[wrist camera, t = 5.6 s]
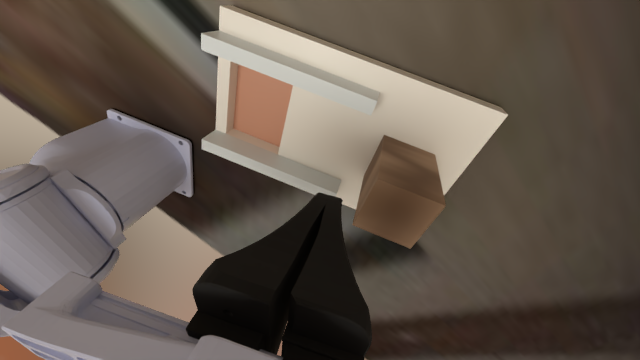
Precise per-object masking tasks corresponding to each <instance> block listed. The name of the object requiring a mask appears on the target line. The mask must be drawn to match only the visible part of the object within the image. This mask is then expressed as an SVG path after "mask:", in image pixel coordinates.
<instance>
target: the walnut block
mask: <svg viewBox="0 0 640 360" xmlns="http://www.w3.org/2000/svg"><path fill="white" fill-rule="evenodd" d="M445 206H446V204H445V200H444V195H443V190H442V185H441V180H440V175H439V171H438V166H437V161H436V156H435V154H433V153H430V152H427V151H425V150H422V149H420V148H417V147H415V146H412V145H409V144H407V143H404V142H402V141H399V140H397V139H394V138H391V137H389V136H386V135H384V136H383V138H382V140H381V142H380V144H379V146H378V148H377V150H376V152H375V154H374V156H373V158H372V160H371V162H370V164H369V166H368V168H367V170H366V172H365V174H364V177H363V181H362V186H361V190H360V195H359V199H358V203H357V208H356V212H355V217H354V221H353V225H354V226H356V227H359V228H361V229H364V230H366V231H369V232H371V233H373V234H376V235H378V236H381V237H383V238H386V239H388V240H391V241H393V242H396V243H398V244H400V245H403V246H405V247H408V248H410V249H411V247H412V246H413V245H414V244H415V243H416V241H417V240H418V239H419V238H420V237H421V235H422V234H423V233H424V232H425V230H426V229H427V228H428V227H429V226H430V224H431V223H432V222H433V221H434V220H435V218H436V217H437V216H438V215H439V214H440V212H441V211H442V210H443V209H444V208H445Z"/></svg>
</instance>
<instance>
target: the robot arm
mask: <svg viewBox="0 0 640 360" xmlns="http://www.w3.org/2000/svg"><path fill="white" fill-rule="evenodd" d="M107 115H108V118H107V119H105V120H102V121H100V122H97V123H95V124H92V125H89V126H87V127H84V128H82V129H79V130H77V131H74V132H72V133H69V134H67V135H64V136H62V137H59V138H56V139H54V140H52V141H50V142H48V143H46V144H45V145H44V146H42V147H41V148H40V149H39V150H38V151H37V152H36V153H35V154H34V156H33V157H32V159H31V160H30V163H29V164H21V165H17V166H13V167H9V168H6V169H3V170H0V284H1V285H3V286H4V287H5V288H7V289H8V290H9V291H3V290H0V337H5V336H11V337H13V338H14V339H15V340H17V341H18V342H19V343H21V344H22V345H23V346H25V347H26V348H27V349H29V350H30V351H31V352H33V353H34V354H35V355H37V356H39V357H41V358H43V359H46V360H364V356H365V354H366V352H367V351H368V349H369V347H370V345H371V341H372V329H371V321H370V315H369V309H368V306H367V304H366V302H365V300H364V298H363V296H362V294H361V292H360V290H359V287H358V285H357V283H356V280H355V277H354V274H353V272H352V269H351V266H350V263H349V259H348V256H347V252H346V248H345V243H344V238H343V231H342V222H341V206H342V201H343V200H342V199H341V198H339V197H335V196H331V195H327V194H324V193H320V192H319V193H317V194H316V195H315V196H314V197H313V198H312V200H311V201H310V202H309V203H308V204H307V205H306V206H305V207H304V208H303V209H302V210H300V211H299V212H298V213H297V214H296V215H295V216H294V217H292V218H291V219H290V220H289V221H288V222H286V223H285V224H284V225H282V226H281V227H280V228H278V229H277V230H275V231H274V232H272V233H271V234H269V235H267V236H266V237H264V238H262V239H261V240H259V241H257V242H255V243H253V244H251V245H249V246H247V247H245V248H243V249H241V250H239V251H236V252H234V253H231V254H229V255H226V256H224V257H221V258H219V259H216V260H215V261H214V262H213V263H212V264H211V265H210V266H209V267H208V268H207V269H206V270H205V272H204V273H203V274H202V276H201V277H200V279H199V280H198V281H197V283H196V284H195V285H194V287H193V296H194V299H195V302H196V305H197V309H198V311H197V312H196V314H195V315H194V317H193V318H192V320H191V321H190V323H189V322H186V321H183V320H180V319H178V318H175V317H172V316H169V315H166V314H164V313H161V312H159V311H156V310H153V309H151V308H148V307H145V306H142V305H140V304H137V303H134V302H131V301H129V300H126V299H123V298H121V297H118V296H115V295H113V294H110V293H107V292H104V291H102V288H101V286H100V283H101V282H102V281H103V280H104V279H105V278H106V277H107V276H108V275H109V274H110V272H111V271H112V269H113V268H114V266H115V264H116V262H117V260H118V258H119V250H118V248H117V247H118V246H119V245H120V244H121V243H123V242H124V241H125V240H126V238H125V237H124V235H123V232H124V231H125V230H127V229H128V228H129V227H130V226H131V225H133V224H134V223H135V222H136V221H138V220H139V219H140V218H141V217H142V216H144V215H145V214H146V213H147V212H148V211H150V210H151V209H152V208H153V207H155V206H156V205H157V204H158V203H159V202H161V201H162V200H163V199H164V198H166V197H167V196H168V195H169V194H170V193H172V192H173V191H176V192H178V193H180V194H183V195H185V196H188V197H191V196H192V195H193V166H192V144H191V142H190V141H189V140H188V139H185V138H183V137H180V136H178V135H175V134H173V133H170V132H168V131H165V130H163V129H161V128H158V127H156V126H153V125H151V124H148V123H146V122H143V121H141V120H138V119H136V118H133V117H131V116H128V115H126V114H124V113H121V112H119V111H116V110H114V109H109V110H107ZM181 141H182V142H181ZM287 321H288V323H287ZM286 324H287V326H286ZM285 327H286V328H285ZM284 330H285V331H284ZM283 333H284V334H283ZM281 340H282V341H283V343H282V355H281V356H278V355H277V352H278V349H279V346H280V343H281Z"/></svg>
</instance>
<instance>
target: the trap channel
mask: <svg viewBox="0 0 640 360" xmlns="http://www.w3.org/2000/svg"><path fill="white" fill-rule="evenodd" d="M201 50H203V51H206V52H208V53H211V54H213V55H216V56H218V77H217V107H216V130H214V131H213V132H211V133H210V134H208V135H207V136H206V137H204V138H203V139H202V149H203V150H205V151H208V152H210V153H213V154H215V155H218V156H220V157H223V158H225V159H228V160H230V161H232V162H235V163H237V164H240V165H242V166H245V167H247V168H250V169H252V170H255V171H257V172H260V173H262V174H265V175H267V176H269V177H272V178H274V179H277V180H279V181H282V182H284V183H287V184H289V185H292V186H294V187H297V188H299V189H301V190H304V191H306V192H309V193H311V194H314V195H316V194H317V193H319V192H320V193H324V194H327V195H331V196H335V197H339V198H341V199H342V200H343V201H342V204H343V205H346V206H348V207H351V208H353V209H356V208H357V203H358V199H359V195H360V190H361V186H362V181H363V177H364V174H365V172H366V170H367V168H368V166H369V164H370V162H371V160H372V158H373V156H374V154H375V152H376V150H377V148H378V146H379V144H380V142H381V140H382V138H383V136H384V135H386V136H389V137H391V138H394V139H397V140H399V141H402V142H404V143H407V144H409V145H412V146H415V147H417V148H420V149H422V150H425V151H427V152H430V153H433V154H435V156H436V161H437V166H438V171H439V175H440V180H441V185H442V190H443V195H445V194H446V193H447V191H448V190H449V189H450V187H451V186H452V185H453V184H454V182H455V181H456V180H457V179H458V177H459V176H460V175H461V174H462V172H463V171H464V170H465V169H466V167H467V166H468V165H469V164H470V162H471V161H472V160H473V159H474V157H475V156H476V155H477V153H478V152H479V151H480V150H481V148H482V147H483V146H484V145H485V143H486V142H487V141H488V140H489V138H490V137H491V136H492V135H493V133H494V132H495V131H496V130H497V128H498V127H499V126H500V125H501V123H502V122H503V121H504V120H505V118H506V117H507V116H508V114H507V113H506V112H505V111H504V110H503V109H502V108H501V107H499V106H496V105H494V104H491V103H488V102H486V101H483V100H480V99H478V98H475V97H473V96H470V95H467V94H465V93H462V92H459V91H457V90H454V89H451V88H449V87H446V86H443V85H441V84H438V83H436V82H433V81H430V80H428V79H425V78H422V77H420V76H417V75H414V74H412V73H409V72H406V71H404V70H401V69H399V68H396V67H393V66H391V65H388V64H385V63H383V62H380V61H377V60H375V59H372V58H369V57H367V56H364V55H362V54H359V53H356V52H354V51H351V50H348V49H346V48H343V47H340V46H338V45H335V44H332V43H330V42H327V41H325V40H322V39H319V38H317V37H314V36H311V35H309V34H306V33H303V32H301V31H298V30H295V29H293V28H290V27H288V26H285V25H282V24H280V23H277V22H274V21H272V20H269V19H266V18H264V17H261V16H258V15H256V14H253V13H251V12H248V11H245V10H243V9H240V8H237V7H235V6H232V5H229V6H220V18H219V31H213V32H206V33H201Z"/></svg>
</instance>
